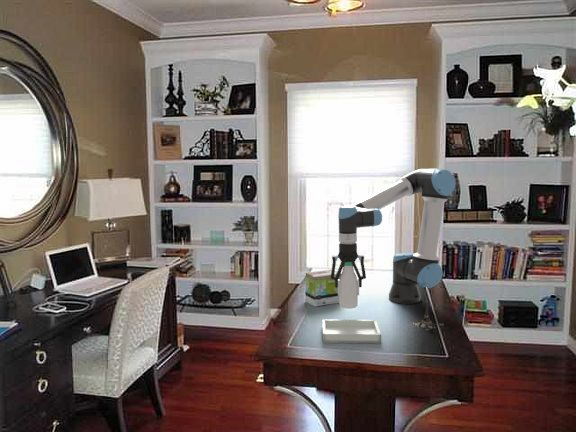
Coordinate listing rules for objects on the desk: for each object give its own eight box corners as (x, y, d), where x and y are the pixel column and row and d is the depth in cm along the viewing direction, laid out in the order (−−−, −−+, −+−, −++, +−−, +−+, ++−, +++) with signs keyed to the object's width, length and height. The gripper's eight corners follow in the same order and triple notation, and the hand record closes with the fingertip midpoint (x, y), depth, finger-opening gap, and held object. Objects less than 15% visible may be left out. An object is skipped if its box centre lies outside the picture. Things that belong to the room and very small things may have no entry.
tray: (375, 328, 197) (375, 319, 196) (381, 343, 181) (381, 334, 181) (322, 327, 198) (322, 319, 198) (323, 342, 182) (323, 334, 182)
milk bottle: (357, 309, 201) (356, 263, 198) (338, 308, 203) (338, 262, 200) (358, 303, 209) (357, 259, 206) (340, 302, 210) (339, 258, 207)
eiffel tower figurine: (444, 325, 201) (445, 294, 199) (447, 333, 191) (448, 301, 189) (407, 322, 204) (408, 292, 202) (408, 331, 194) (409, 299, 192)
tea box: (315, 307, 224) (315, 277, 222) (304, 301, 233) (304, 272, 231) (341, 302, 231) (342, 272, 229) (330, 297, 240) (330, 268, 238)
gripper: (323, 244, 199) (324, 297, 202) (373, 243, 198) (373, 297, 201) (323, 241, 206) (324, 292, 209) (371, 240, 205) (371, 291, 208)
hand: (348, 294), depth 205 cm, fingers closed on milk bottle, 7 cm apart
